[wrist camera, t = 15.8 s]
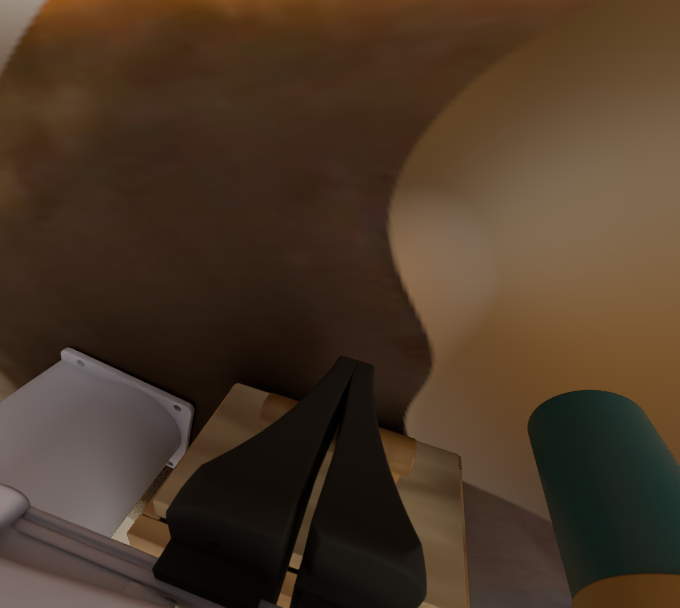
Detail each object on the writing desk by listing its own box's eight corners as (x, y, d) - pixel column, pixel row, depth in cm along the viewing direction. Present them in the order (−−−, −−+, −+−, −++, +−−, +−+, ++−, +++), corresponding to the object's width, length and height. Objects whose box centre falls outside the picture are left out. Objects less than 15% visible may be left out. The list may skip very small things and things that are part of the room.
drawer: (237, 321, 17) (136, 432, 11) (492, 398, 16) (522, 570, 10) (235, 506, 26) (179, 617, 21) (392, 565, 25) (378, 701, 19)
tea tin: (507, 443, 18) (548, 649, 11) (556, 374, 15) (649, 590, 8) (609, 475, 17) (716, 713, 11) (678, 409, 15) (882, 671, 8)
